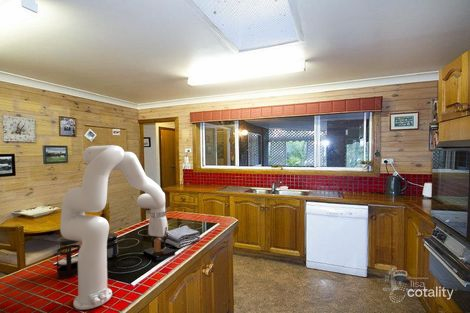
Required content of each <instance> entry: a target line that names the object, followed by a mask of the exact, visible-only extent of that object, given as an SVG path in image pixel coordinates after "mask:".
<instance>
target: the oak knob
mask: <svg viewBox="0 0 470 313" xmlns="http://www.w3.org/2000/svg"><path fill="white" fill-rule="evenodd" d="M161 242H162V241H161V237H156V239H154V252H161V251H163V250H164V248H163V249H161Z"/></svg>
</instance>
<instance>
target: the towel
mask: <svg viewBox="0 0 470 313" xmlns="http://www.w3.org/2000/svg"><path fill="white" fill-rule="evenodd" d="M168 232H169V234H170V236H169V237H168V238H167V240H166V241H165V242H166V244H168V245H170V246H173V247H175V248H177V249H181V248H183V247H186V246H188V245H191V244H193V243H196V242H198V241H200V239H201V234H200V231H198V230H196V229H195V230H194V229H191V228H190V227H189V226H188V225H183V226H180V227H177V228H173V229H170V230H168Z"/></svg>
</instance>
